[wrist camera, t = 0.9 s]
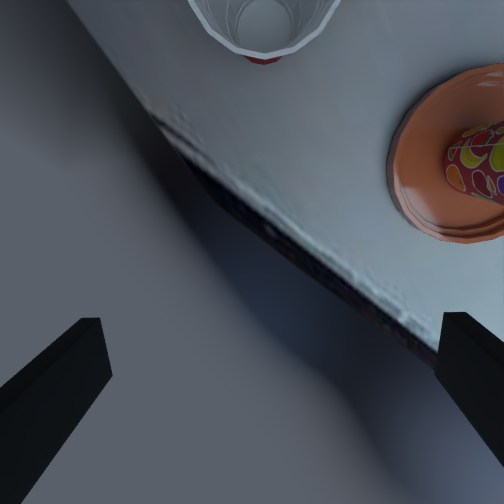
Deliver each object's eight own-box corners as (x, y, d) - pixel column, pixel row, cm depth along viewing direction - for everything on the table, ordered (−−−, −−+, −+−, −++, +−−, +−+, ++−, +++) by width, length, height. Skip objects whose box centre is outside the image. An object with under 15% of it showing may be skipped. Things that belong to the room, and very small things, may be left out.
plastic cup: (318, 90, 32) (346, 54, 20) (215, 93, 32) (185, 60, 21) (324, -39, 29) (361, -168, 17) (209, -33, 29) (171, -154, 18)
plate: (448, 38, 30) (461, 29, 28) (593, 117, 31) (616, 114, 29) (356, 199, 35) (362, 202, 33) (484, 261, 36) (497, 267, 34)
